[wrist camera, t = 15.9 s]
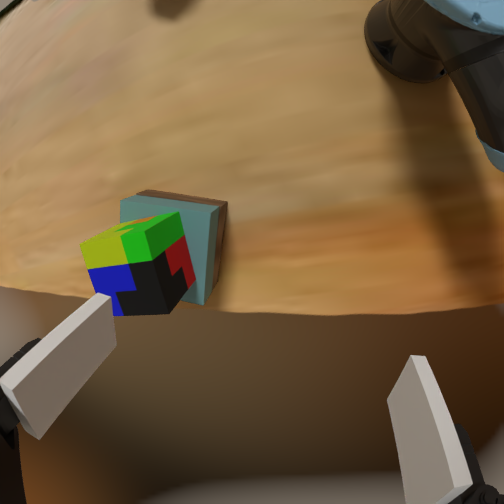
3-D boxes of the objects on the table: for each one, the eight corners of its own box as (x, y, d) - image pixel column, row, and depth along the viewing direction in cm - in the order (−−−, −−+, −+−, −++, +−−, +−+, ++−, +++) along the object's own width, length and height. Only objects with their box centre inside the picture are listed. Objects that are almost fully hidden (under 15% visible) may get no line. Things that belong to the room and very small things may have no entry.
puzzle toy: (138, 284, 46) (104, 316, 36) (120, 223, 43) (79, 244, 33) (196, 279, 44) (169, 314, 34) (179, 211, 41) (144, 231, 31)
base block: (149, 189, 50) (136, 193, 46) (228, 201, 48) (220, 206, 44) (146, 264, 55) (135, 273, 50) (218, 280, 53) (211, 291, 49)
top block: (135, 194, 46) (120, 200, 41) (219, 206, 44) (210, 212, 40) (135, 275, 51) (122, 286, 46) (211, 292, 49) (203, 305, 45)
